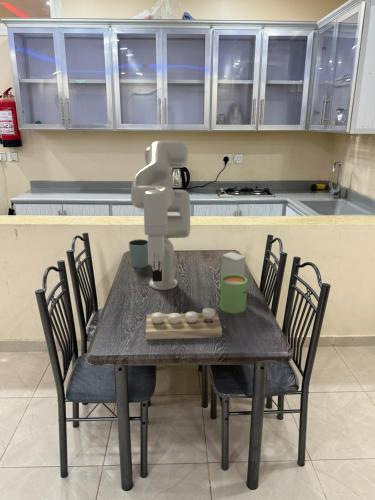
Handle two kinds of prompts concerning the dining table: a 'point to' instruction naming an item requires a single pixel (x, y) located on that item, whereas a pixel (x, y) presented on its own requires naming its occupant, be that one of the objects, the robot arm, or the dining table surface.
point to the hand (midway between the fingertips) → (157, 280)
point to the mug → (233, 293)
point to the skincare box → (232, 264)
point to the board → (183, 328)
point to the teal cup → (139, 253)
